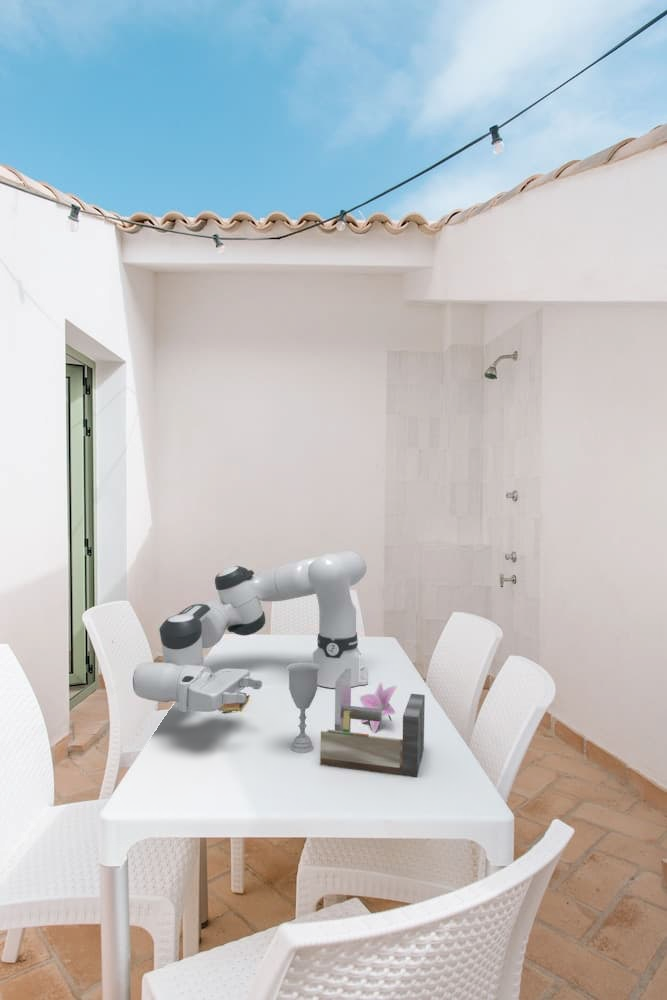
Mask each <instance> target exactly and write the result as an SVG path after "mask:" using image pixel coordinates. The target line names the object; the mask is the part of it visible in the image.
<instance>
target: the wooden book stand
mask: <svg viewBox="0 0 667 1000" xmlns="http://www.w3.org/2000/svg"><path fill="white" fill-rule="evenodd" d="M425 699H426V698H425V694H419V693H410V696H409V698H408V701H407V704H406V707H405V709H404V712H403V715H402V739H401V738H394V737H393V738H392V737H384V736H383V737H382V736H374V735H369V733H360V732H354V731H353V732H351V731H350V732H344V731H335V729H333V730H332V729H327V730H320V751H319V752H320V753H319V754H320V756H319V758H320V765H321V766H328V767H335V768H343V769H351V770H360V771H365V772H366V771H367V772H373V773H374V772H375V773H382V774H389V775H397V776H398V775H399V776H403V777H404V776H406V777H411V778H412V777H413V778H418V774H419V769H420V766H421V762H422V758H423V753H424V750H425Z"/></svg>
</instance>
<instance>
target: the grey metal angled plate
mask: <svg viewBox="0 0 667 1000" xmlns="http://www.w3.org/2000/svg"><path fill="white" fill-rule="evenodd" d="M334 691H335V695H334V696H335V697H334V730H335V731H343V720H344V712H345V711H351V719H352V720H360V721H361V720H368V721H367V722H370V721H378V722H379V723H381V722H382V719H383V716H382V709H375V708H365V707H364V706H356V705H355V706H354V705H351V704H352V687H351V669H349V668H346V669H345V670H344V671H343V673H342V674H341V675H340V676H339V678H338V679H337V680H336V681H335V688H334Z"/></svg>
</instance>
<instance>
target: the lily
mask: <svg viewBox="0 0 667 1000" xmlns="http://www.w3.org/2000/svg"><path fill="white" fill-rule="evenodd" d="M383 687H384V686H383V683H382V682H379V683H378V685H377V687H376V689H375V692H374V694H373V693H368V694H367V693H366V694H363V695H360V696H359V701H360V703H361V706H362V707H365V708H375V709H382V717H383V716H388V719H389V720H390V722H392V721H393V720H392V718H391V716H393V715H395V714H396V710H395V709H394V707H393V706H392V705H391V703H390V701H391V699H392V697H393V694H394V693H395V691H396V690H397V688H398V685H392V686H390V687H388V688H386V689H384V688H383ZM365 722H369V723H370V727H371V728H370V729H371V730H372V732H373V733H376V732H377V730H378V727H379V725H380V722H378V721H368V720H360V723H361V724H364V723H365Z"/></svg>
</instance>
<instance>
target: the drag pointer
mask: <svg viewBox="0 0 667 1000" xmlns="http://www.w3.org/2000/svg"><path fill="white" fill-rule="evenodd" d="M351 726H352V725H351V711H345V712H344V720H343V731H344V732H351Z"/></svg>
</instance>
